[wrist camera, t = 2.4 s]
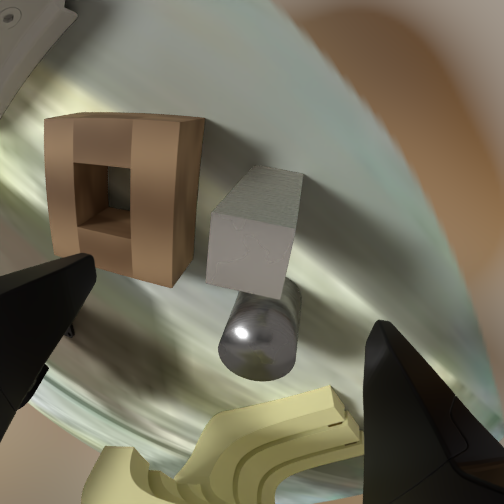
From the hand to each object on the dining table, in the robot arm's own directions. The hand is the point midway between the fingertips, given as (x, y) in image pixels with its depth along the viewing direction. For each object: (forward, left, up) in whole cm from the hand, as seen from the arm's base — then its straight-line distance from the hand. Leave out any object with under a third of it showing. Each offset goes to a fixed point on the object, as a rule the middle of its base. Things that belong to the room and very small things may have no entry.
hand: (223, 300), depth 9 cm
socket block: (-1, +10, -12) cm, 15 cm away
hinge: (+10, +25, -12) cm, 30 cm away
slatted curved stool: (-26, -6, -12) cm, 30 cm away
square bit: (0, 0, -12) cm, 12 cm away
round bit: (-8, -1, -12) cm, 14 cm away
